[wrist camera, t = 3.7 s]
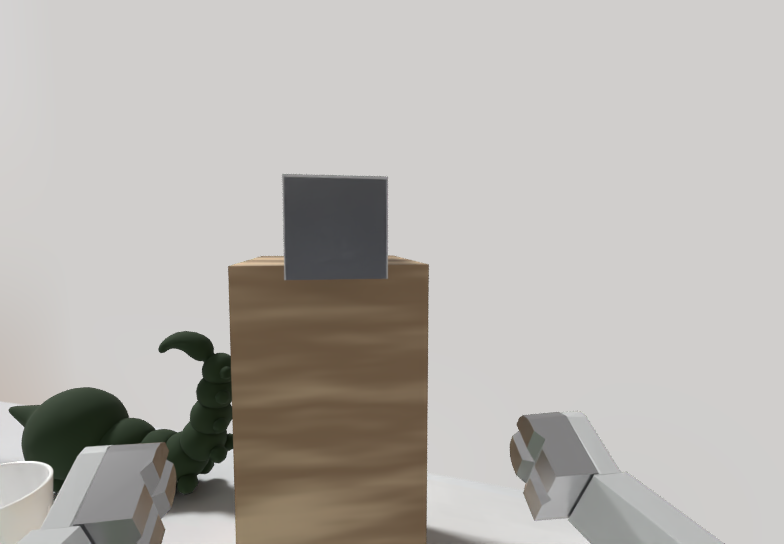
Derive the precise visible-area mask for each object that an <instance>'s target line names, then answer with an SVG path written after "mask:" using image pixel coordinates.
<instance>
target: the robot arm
mask: <svg viewBox="0 0 784 544" xmlns="http://www.w3.org/2000/svg"><path fill="white" fill-rule="evenodd" d="M517 427H518V429H519V431H518V432H517V433H516V434H514V435H513V436H512V439H511V442H510V457H511V462H512V465H513V468H514V470H515V473H516V475H517V476H518V477H519V478H520V479H521V480H522V481H524V482H525V483H526V484H525V488H524V492H523V494H524V496H525V499H526V501H527V504H528V506H529V509H530V511H531V514H532V516H533V518H534V521H539V520H551V519H563V518H569V519H568V521H569V522H570V523H571V524H572V525H573V526H574V527H575V528H576V529H577V530H578V531H579V532H580V533H581V534H582V535H583V536H584V537H585V538H586V539H587V540H588V541H589V542H590V543H591V544H725V543H723V542H722V541H720V540H719V539H718V538H716V537H715V536H714V535H712V534H711V533H710V532H708V531H707V530H705V529H704V528H703V527H701V526H700V525H699V524H697V523H696V522H695V521H693V520H692V519H690V518H689V517H688V516H686V515H685V514H684V513H682V512H681V511H680V510H678V509H677V508H675V507H674V506H673V505H671V504H670V503H669V502H667V501H666V500H664V499H663V498H662V497H661V496H659V495H658V494H656V493H655V492H654V491H652V490H651V489H649V488H648V487H647V486H645V485H644V484H643V483H641V482H640V481H639V480H637V479H636V478H635V477H633V476H632V475H631V474H629V473H628V472H621V471H620V470H619V468H618V466H617V465H616V463H615V462H614V460H613V459H612V457H611V455H610V454H609V452H608V450H607V449H606V447H605V445H604V444H603V443H602V441H601V439H600V437H599V436H598V434H597V433H596V431H595V430H594V428H593V426H592V425H591V423H590V421H589V420H588V418H587V416H586V415H585V414H584V413H582V412H581V411H572V412H562V413H560V412H553V413H543V414H531V415H523V416H521V417H520V418H519V420H518V422H517ZM168 453H169V450H168V448H167V445H166V443H165V442H159V443H143V444H126V445H106V446H93V447H85V448H84V449H83V450H82V451H81V452H80V454H79V455H78V456H77V458H76V460H75V462H74V464H73V466H72V468H71V470H70V471H69V473H68V475H67V477H66V479H65V481H64V483H63V485H62V487H61V489H60V491H59V493H58V495H57V497H56V499H55V501H54V503H53V505H52V507H51V509H50V511H49V513H48V514H47V516H46V518H45V520H44V522H43V524H42V526H41V528H40V529H37V530H31V531H30V532H29V533H28V534H27V535H25V536H24V537H23V538H22V539H21V540H20V541H19V542H17V543H16V544H161V543H162V539H163V536H164V532H165V528H164V526H163V523H162V521H161V518H162V517H163V516H164V515H165V514H166V513H167V512H168V511H169V510H170V509H171V507H172V504H173V500H174V496H175V489H176V470H175V467H174V464H173V463H172V462H170V461H168V460H167V456H168Z"/></svg>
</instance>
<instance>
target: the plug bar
mask: <svg viewBox="0 0 784 544" xmlns="http://www.w3.org/2000/svg"><path fill="white" fill-rule="evenodd" d="M282 178H283V232H284V233H283V234H284V280H332V279H388V177H384V176H341V175H338V176H337V175H302V174H283V175H282Z"/></svg>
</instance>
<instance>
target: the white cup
mask: <svg viewBox="0 0 784 544" xmlns="http://www.w3.org/2000/svg"><path fill="white" fill-rule="evenodd" d="M52 505H53V469H52V467H51V466H50V465H48V464H46V463H43V462H37V461H19V462H10V463H4V464H0V544H16V543H17V542H19V541H20V540H21V539H22V538H23V537H24V536H25V535H27V534H28V533H29V532H30V531H31V530H37V529H40V528H41V526H42V524H43V522H44V520H45V518H46V516H47V514H48V513H49V511H50V509H51V507H52Z"/></svg>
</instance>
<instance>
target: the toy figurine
mask: <svg viewBox="0 0 784 544" xmlns="http://www.w3.org/2000/svg"><path fill="white" fill-rule="evenodd" d="M172 348H176V349H179V350H182V351H184V352H185V353H187V354H188V355H189V356H190V357H192V358H193V359H195V360H198V361H203V362H204V364H203V367H202V375H203V379H202V380H201V381H200V382H199V384H198V387H197V390H196V393H197V400H198V401H197V402H196V403H195V405H194V406H193V408H192V410H191V413H190V422H189V423H188V424H187V425H186V426H185V428H184V429H183V431H181V432H178V433H177V432H175V431H172V430H168V429H160V430H155V428H154V427H153V426H152V425H150V424H149V423H147V422H146V421H144V420H141V419H136V418H129V416H128V413H127V410H126V408H125V407H124V405H123V404H122V403H121V401H120V400H119V399H118V398H117V397H115V396H114V395H112V394H110V393H108V392H106V391H103V390H100V389H96V388H90V387H84V388H75V389H70V390H67V391H64V392H61V393H59V394H57V395H55V396H53V397H51V398H49V399H48V400H46V401H45V402H44V403H43V404H41V405H30V406H14V407H11V408H10V409H9V412H10V414H11V415H12V416H13V417H14V418H15V419H16V420H17V421H18V422H19V423H21V424H22V425H23V426H24V427H25V428H24V431H23V435H22V451H23V455H24V459H25V461H37V462H43V463H46V464H48V465H50V466H51V467H52V469H53V491H54V492H59V491H60V489H61V487H62V485H63V483H64V481H65V479H66V477H67V475H68V473H69V471H70V470H71V468H72V466H73V464H74V462H75V460H76V458H77V456H78V455H79V454H80V452H81V451H82V450H83V449H84V448H85V447H93V446H106V445H126V444H143V443H159V442H165V443H166V445H167V448H168V450H169V453H168V456H167V460H168V461H170V462H172V463H173V464H174V467H175V470H176V481H178V482H177V484H176V485H177V489H178V491H179V492H181V493H183V494H188V493H192V492H193V491H194V489H195V488H196V486H197V485H198V479H197V475H198V474H207V473H209V472H210V471H211V469H212V468H213V466H214V463H220V462H222V461H223V460H225V458H226V456H227V451H230V450H231V449H233V434H230V433H229V434H227V431H226V429H227V427H228V425H229V423H230V421H231V420H232V419H233V417H232V406H231V404H230V403H231V402H232V382H231V356H230V355H228V354H226V353H216V354H214V352H213V351H214V348H213V344H212V342H211V341H210V339H208V338H207V337H205V336H204V335H201V334H199V333H196V332H189V331H184V332H177V333H175V334H173V335H170V336H169V337H167V338H166V339H165V340H164V341H163V342H162V343H161V344H160V346H159V352H160V353H164V352H166V351H167V350H169V349H172Z"/></svg>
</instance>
